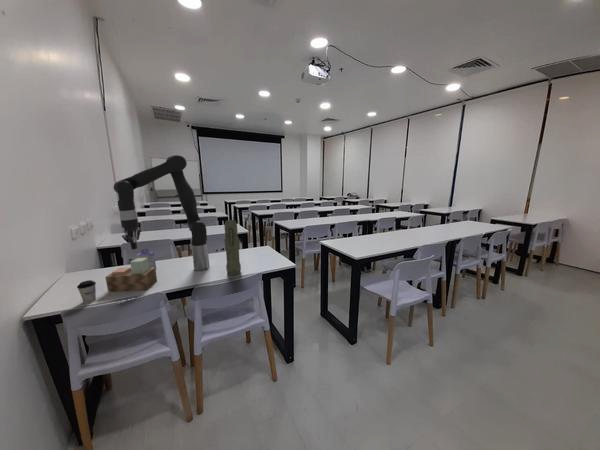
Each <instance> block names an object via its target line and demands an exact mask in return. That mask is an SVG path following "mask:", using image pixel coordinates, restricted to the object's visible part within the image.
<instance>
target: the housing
mask: <svg viewBox="0 0 600 450" xmlns="http://www.w3.org/2000/svg"><path fill="white" fill-rule="evenodd" d="M149 269H150V270H148V271H147V272H146V273H144V274H132V270H131V271H129V272H128V273H126V274H123V275H113V274H112V272H111V273H109V274H108V275H106V276H105V283H106V288H107V292H108V293H117V292H118V293H120V292H121V293H122V292H136V291H137V292H139V291H148V290H150V288H152V287H153V286H154V285H155V284H156V283H157V282H158V278H157V270H156V269H157V267H156V268H155V267H152V268H149Z"/></svg>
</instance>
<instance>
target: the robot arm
mask: <svg viewBox="0 0 600 450" xmlns="http://www.w3.org/2000/svg"><path fill="white" fill-rule="evenodd" d="M187 164H188V163H187V160H186V158H185V157H184V156H183V155H179V154H174V155H171V156H168V157H167V158H166V160H165V162H162V163H161V164H159V165H158V164H157V165H156V166H153V167H150V168H147V169H145V170H142V171H140V172H138V173H135V174H133V175H132V176H129V177H126V178H124V179H120V180H118V181H116V182H115V183H114V185H113V190H114V192H115V193H117V197H118V201H117V206H118V212H119V219H120V225H121V226H120V227H121V228H122V229H124V234H122V235H121V238H122V239H123V240H124V241H125V242H126V243H127V244H130V248H131V250H137V249H138V244H137V242H138V241H139V239H140V236H141V232H142V231H141V230H139V229H138V226H140V225H139V220H138V219H139V218H138V214H137V211H136V205H135V201H134V199H135V196H134V195H135V191H134V190H136V189H138V188H143V187H145V186H147V185H148V184H149V185H150V184H151V183H153V182H155V181H156V180H159V179H161V178H163V177H165V176H166V175H168V174H170V176H171V178H172V181H173V185H174V186H175V190H176V192H177V196H178V200H179V201H180V205H181V206H182V210H183V212H184V214H185V217H186V221H187V224H188V229H189V231H190V233H191V241H190V242H191V243H190V244H191V251H192V260H193V261H192V263H193V270H194V271H204V270H208V269H209V267H210V257H209V253H208V246H207V240H208V236H207V234H208V233H207V226H206V224H205V222H203V221H201V219H200V218H201V217H200V216H199V214H198V207H197V205H198V203H197V199H196V196H195V192H194V190H193V188H192V187H191V184H189V182H188V180H187V179H186V177H185V175H184V174H185V173H184V169H186V167H187Z"/></svg>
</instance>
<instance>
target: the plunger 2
mask: <svg viewBox="0 0 600 450" xmlns="http://www.w3.org/2000/svg"><path fill="white" fill-rule="evenodd" d="M130 267H131V270H132V274H144V273H146V272H147V271H148V270H150V269H149V262H148V258H136V257H135V259H132V260H131V261H130Z"/></svg>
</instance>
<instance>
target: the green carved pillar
mask: <svg viewBox="0 0 600 450" xmlns="http://www.w3.org/2000/svg"><path fill="white" fill-rule="evenodd" d="M223 228H224V234H225V235H224V248H225V254H226V255H225V257H226V266H225V267H226V275H227V276H229V277H236V276H239V275H241V274H242V272H241V271H242V267H241V265H242V264H241V263H240V238H239V234H238V224H237V221H236V220H235V219H227V220H226V221H225V222H224V227H223Z"/></svg>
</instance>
